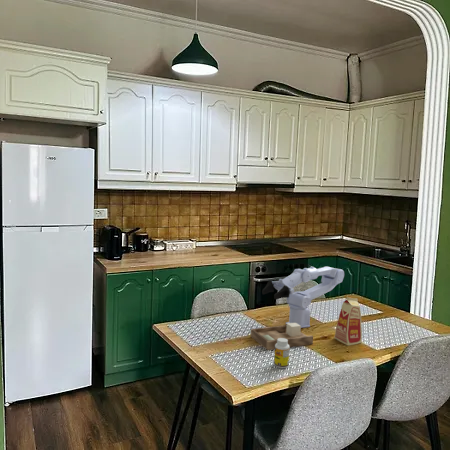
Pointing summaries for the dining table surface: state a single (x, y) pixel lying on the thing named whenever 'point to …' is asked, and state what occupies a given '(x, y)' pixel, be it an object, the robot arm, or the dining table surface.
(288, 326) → the block
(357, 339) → the milk carton
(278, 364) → the supplement bottle
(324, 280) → the robot arm
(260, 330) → the tray
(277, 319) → the dining table surface
